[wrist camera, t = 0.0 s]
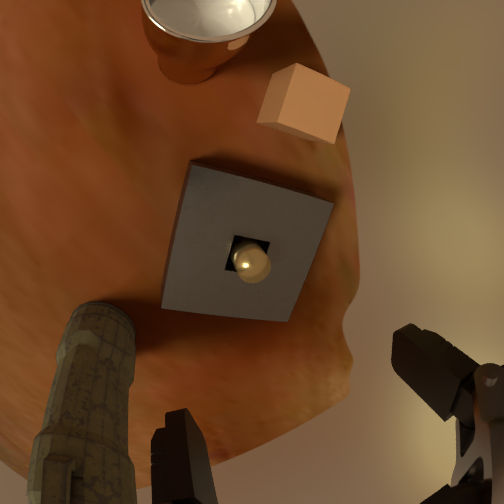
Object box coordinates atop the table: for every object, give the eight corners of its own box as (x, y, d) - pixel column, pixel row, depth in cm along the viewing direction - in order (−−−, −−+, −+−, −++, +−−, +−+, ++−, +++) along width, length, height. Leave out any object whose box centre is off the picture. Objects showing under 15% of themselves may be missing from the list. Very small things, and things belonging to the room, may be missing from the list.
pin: (234, 234, 27) (243, 249, 24) (263, 240, 29) (275, 255, 25) (226, 263, 28) (233, 280, 25) (254, 267, 29) (264, 285, 26)
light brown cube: (272, 73, 25) (296, 62, 20) (319, 93, 27) (351, 89, 21) (256, 122, 27) (277, 122, 21) (304, 139, 29) (333, 144, 23)
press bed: (189, 160, 26) (192, 164, 23) (315, 194, 31) (334, 203, 28) (161, 287, 31) (161, 308, 27) (276, 302, 36) (287, 321, 32)
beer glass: (234, 77, 24) (299, 33, 11) (163, 99, 23) (154, 65, 10) (215, 18, 21) (260, -64, 8) (145, 37, 20) (124, -41, 7)
